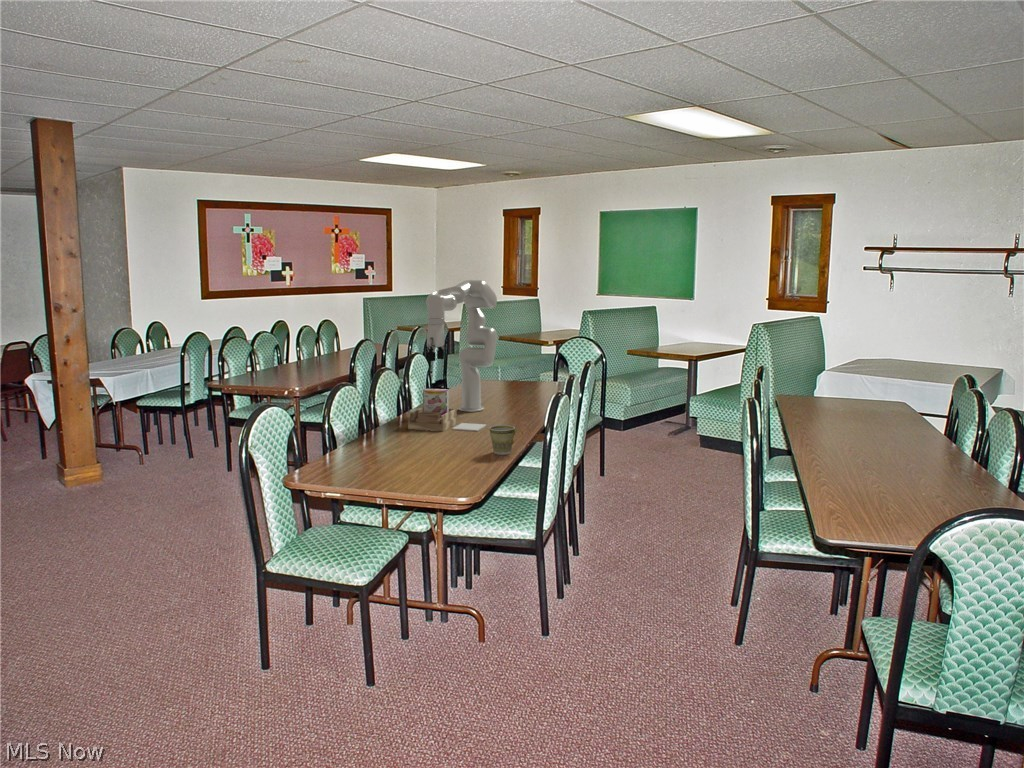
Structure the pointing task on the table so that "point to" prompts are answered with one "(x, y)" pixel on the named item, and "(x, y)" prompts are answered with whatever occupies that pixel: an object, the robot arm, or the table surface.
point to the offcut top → (429, 416)
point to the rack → (446, 422)
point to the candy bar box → (436, 400)
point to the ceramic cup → (503, 438)
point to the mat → (469, 427)
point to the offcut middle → (429, 421)
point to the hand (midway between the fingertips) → (436, 359)
